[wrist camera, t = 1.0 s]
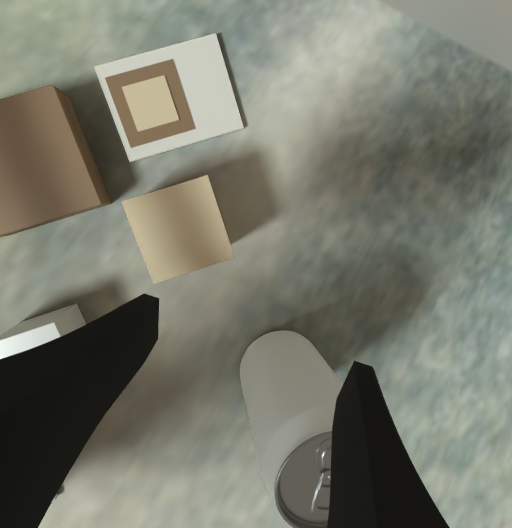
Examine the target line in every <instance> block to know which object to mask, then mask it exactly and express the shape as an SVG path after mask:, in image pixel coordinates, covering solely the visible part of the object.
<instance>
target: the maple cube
mask: <svg viewBox="0 0 512 528" xmlns="http://www.w3.org/2000/svg"><path fill="white" fill-rule="evenodd" d="M122 204H123V207H124V210H125V212H126V215H127V217H128V220H129V222H130V225H131V227H132V230H133V233H134V235H135V238H136V240H137V243H138V245H139V248H140V250H141V253H142V256H143V258H144V261H145V263H146V266H147V268H148V271H149V273H150V276H151V279H152V281H153V284H156V283H159V282H162V281H165V280H168V279H171V278H174V277H177V276H180V275H183V274H186V273H189V272H192V271H195V270H198V269H201V268H204V267H207V266H210V265H213V264H216V263H219V262H222V261H225V260H228V259H231V258H234V254H233V251H232V248H231V245H230V242H229V239H228V236H227V232H226V229H225V226H224V223H223V220H222V217H221V214H220V211H219V208H218V205H217V202H216V199H215V196H214V193H213V190H212V187H211V184H210V181H209V178H208V175H206V176H203V177H199V178H196V179H193V180H190V181H186V182H183V183H180V184H177V185H174V186H170V187H167V188H164V189H161V190H157V191H154V192H151V193H148V194H145V195H141V196H138V197H135V198H132V199H128V200H125V201H122Z"/></svg>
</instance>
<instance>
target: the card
mask: <svg viewBox="0 0 512 528" xmlns="http://www.w3.org/2000/svg"><path fill="white" fill-rule="evenodd" d="M94 68H95V71H96V73H97V76H98V79H99V81H100V84H101V87H102V89H103V92H104V95H105V97H106V100H107V103H108V105H109V108H110V111H111V114H112V116H113V119H114V122H115V124H116V127H117V130H118V132H119V135H120V138H121V140H122V143H123V146H124V148H125V151H126V154H127V156H128V159H129V162H134V161H138V160H141V159H144V158H148V157H151V156H154V155H158V154H161V153H164V152H168V151H171V150H174V149H178V148H181V147H184V146H188V145H191V144H194V143H198V142H201V141H204V140H208V139H211V138H214V137H218V136H221V135H224V134H228V133H231V132H234V131H238V130H241V129H243V128H244V127H243V123H242V120H241V117H240V113H239V110H238V107H237V103H236V100H235V96H234V93H233V90H232V86H231V83H230V79H229V76H228V73H227V69H226V66H225V63H224V59H223V56H222V52H221V49H220V46H219V42H218V39H217V36H216V33H215V34H211V35H208V36H204V37H200V38H197V39H193V40H189V41H186V42H182V43H178V44H175V45H171V46H168V47H164V48H160V49H157V50H153V51H149V52H146V53H142V54H138V55H135V56H131V57H127V58H124V59H120V60H116V61H113V62H109V63H105V64H102V65H98V66H94Z"/></svg>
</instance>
